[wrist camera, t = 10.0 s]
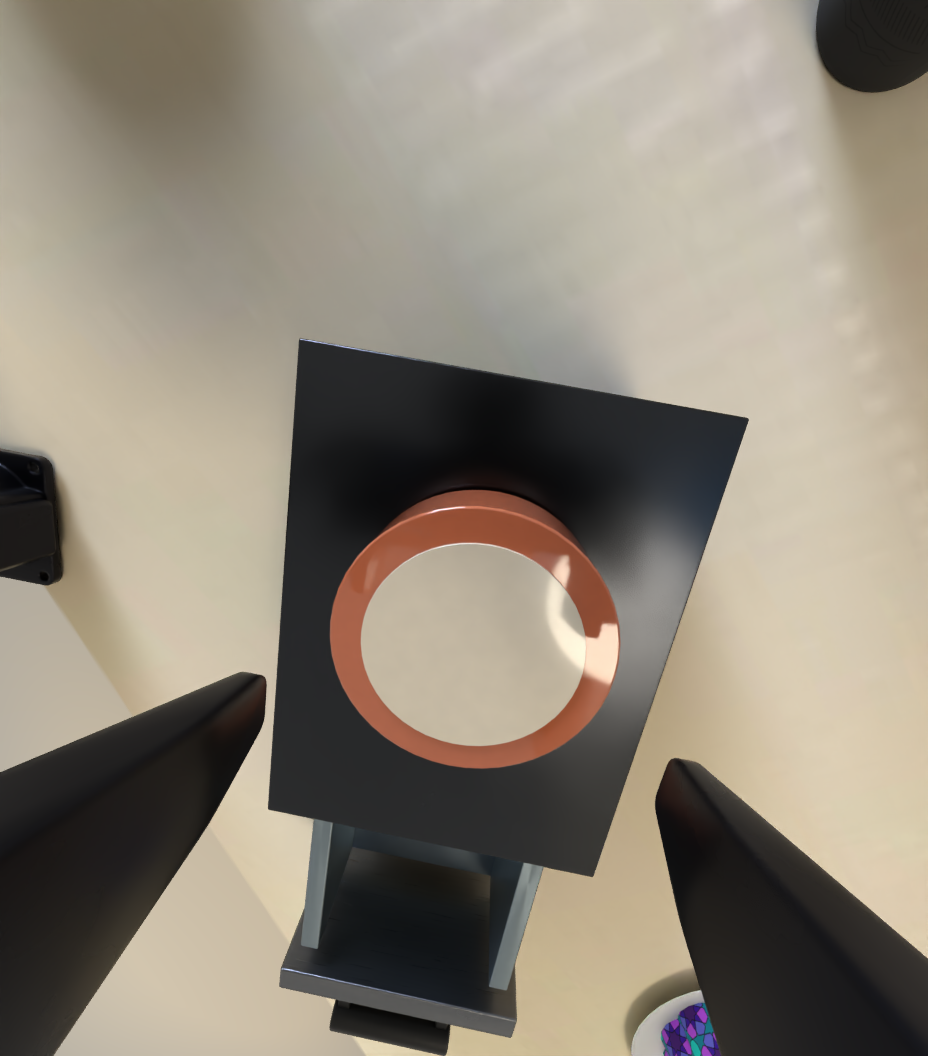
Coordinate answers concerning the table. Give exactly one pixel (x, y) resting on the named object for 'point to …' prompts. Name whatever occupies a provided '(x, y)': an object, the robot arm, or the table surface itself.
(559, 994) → the table surface
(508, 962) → the drawer
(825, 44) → the drinking cup
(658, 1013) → the pudding
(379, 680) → the round tin
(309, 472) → the cabinet
